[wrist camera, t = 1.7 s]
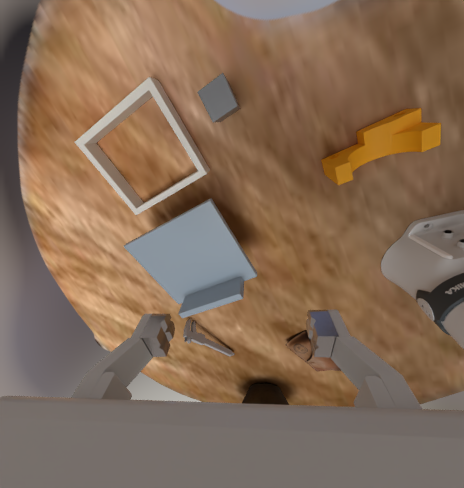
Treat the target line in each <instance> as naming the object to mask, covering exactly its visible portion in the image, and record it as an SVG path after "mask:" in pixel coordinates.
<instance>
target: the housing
mask: <svg viewBox="0 0 464 488" xmlns="http://www.w3.org/2000/svg"><path fill="white" fill-rule="evenodd" d="M152 97H154V99H155V101H156V102H157V104H158V105H159V107H160V109H161V110H162V112H163V114H164V115H165V117H166V119H167V120H168V122H169V124H170V125H171V127H172V129H173V130H174V132H175V134H176V135H177V137H178V138H179V140H180V142H181V143H182V145H183V147H184V148H185V150H186V152H187V153H188V155H189V157H190V158H191V160H192V162H193V163H194V165H195V166H196V168H197V171H196V172H194V173H192V174H191V175H189V176H187V177H186V178H184V179H182V180H181V181H179V182H177V183H176V184H174V185H172V186H171V187H169V188H167V189H166V190H164V191H163V192H161V193H159V194H158V195H156V196H154V197H153V198H151V199H149V200H148V201H146V202H143V201H142V200H141V199H140V197H139V196H138V195H137V194H136V192H135V191H134V190H133V189H132V187H131V186H130V185H129V184H128V182H127V181H126V180H125V179H124V177H123V176H122V175H121V173H120V172H119V171H118V170H117V168H116V167H115V166H114V165H113V163H112V162H111V161H110V160H109V158H108V157H107V156H106V155H105V153H104V152H103V151H102V150H101V148H100V147H99V146H98V145H97V142H98V141H99V140H101V139H102V138H103V137H104V136H105V135H107V134H108V133H109V132H110V131H112V130H113V129H114V128H115V127H116V126H118V125H119V124H120V123H121V122H122V121H124V120H125V119H126V118H127V117H129V116H130V115H131V114H132V113H133V112H135V111H136V110H137V109H138V108H139V107H141V106H142V105H143V104H144V103H146V102H147V101H148V100H149V99H150V98H152ZM75 143H76V144H77V146H78V147H79V148H80V149H81V150H82V151H83V153H84V154H85V155H86V156H87V157H88V159H89V160H90V161H91V162H92V163H93V165H94V166H95V167H96V168H97V169H98V170H99V172H100V173H101V174H102V175H103V176H104V178H105V179H106V180H107V181H108V182H109V184H110V185H111V186H112V187H113V188H114V190H115V191H116V192H117V193H118V194H119V195H120V197H121V198H122V199H123V200H124V201H125V203H126V204H127V205H128V206H129V207H130V209H131V210H132V211H133V212H134V213H135V214H136V215H138V214H139V213H141V212H143V211H144V210H146V209H148V208H150V207H151V206H153V205H155V204H156V203H158V202H160V201H161V200H163V199H165V198H167V197H168V196H170V195H172V194H173V193H175V192H177V191H179V190H180V189H182V188H184V187H185V186H187V185H189V184H190V183H192V182H194V181H196V180H197V179H199V178H201V177H202V176H204V175H206V174H207V173H208V172H209V171H210V169H209V167H208V165H207V164H206V162H205V160H204V158H203V157H202V155H201V153H200V152H199V150H198V148H197V146H196V145H195V143H194V141H193V139H192V138H191V136H190V134H189V132H188V131H187V129H186V127H185V126H184V124H183V122H182V120H181V119H180V117H179V115H178V113H177V112H176V110H175V108H174V106H173V105H172V103H171V101H170V100H169V98H168V96H167V94H166V93H165V91H164V89H163V87H162V86H161V84H160V82H159V81H158V80H156V79H154V78H151V77H149V78H147V79H146V80H145V81H144V82H143V83H142V84H141V85H139V86H138V87H137V88H136V89H135V90H134V91H133V92H131V93H130V94H129V95H128V96H127V97H126V98H125V99H123V100H122V101H121V102H120V103H119V104H118V105H117V106H115V107H114V108H113V109H112V110H111V111H110V112H109V113H107V114H106V115H105V116H104V117H103V118H102V119H101V120H99V121H98V122H97V123H96V124H95V125H94V126H93V127H91V128H90V129H89V130H88V131H87V132H86V133H85V134H83V135H82V136H81V137H80V138H79V139H78V140H76V141H75Z"/></svg>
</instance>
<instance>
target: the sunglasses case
mask: <svg viewBox="0 0 464 488" xmlns="http://www.w3.org/2000/svg"><path fill="white" fill-rule="evenodd" d="M286 346H287V347H288V348H289V349H290V350H291V351H293V352H294V353H295V354H296V355H298V356H299V357H300V358H301V359H303V360H304V361H305V362H306V363H308V364H309V365H310V366H311V367H312V368H314V369H315V370H316V371H326V370H335V371H341V369H340V368H339V367H338V366H337V365H336V364H335V363H334V361H333V360H332V359H331V358H328V357H314V355H313V351H312V348H311V339H310V338H309V337H308V333H307V332H306V331H304V332H302V333H300V334H298V335H297V336H295V337H294V338H293V339H291V340H290V341H289V342H288V343H287V344H286Z"/></svg>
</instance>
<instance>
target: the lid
mask: <svg viewBox="0 0 464 488" xmlns="http://www.w3.org/2000/svg"><path fill="white" fill-rule="evenodd" d="M124 247H125V248H126V250H127V251H128V252H129V253H130V254H131V255H132V256H133V257H134V258H135V259H136V260H137V261H138V262H139V263H140V264H141V265H142V266H143V267H144V268H145V269H146V271H147V272H148V273H149V274H150V275H151V276H152V277H153V278H154V279H155V280H156V281H157V282H158V283H159V284H160V285H161V286H162V287H163V288H164V289H165V290H166V292H167V293H168V294H169V295H170V296H171V297H172V298H173V299H174V300H175V301H176V302H177V303H178V304H180V303H182V306H181V308H180V311H179V315H180V316H181V317H182V318H184V317H187V316H191V315H194V314H197V313H200V312H203V311H206V310H209V309H212V308H215V307H219V306H222V305H225V304H228V303H231V302H234V301H237V300H240V299H243V292H244V281H245V280H248V279H251V278H254V277H257V272H256V270H255V268H254V267H253V265H252V264H251V262H250V260H249V259H248V257H247V255H246V254H245V252H244V251H243V249H242V247H241V246H240V244H239V242H238V241H237V239H236V238H235V236H234V234H233V233H232V231H231V229H230V228H229V226H228V225H227V223H226V221H225V220H224V218H223V216H222V215H221V213H220V212H219V210H218V208H217V207H216V205H215V203H214V202H213V200H212V199H209V200H207V201H205V202H203V203H201V204H199V205H197V206H196V207H194V208H192V209H190V210H188V211H186V212H184V213H183V214H181V215H179V216H177V217H175V218H173V219H171V220H169V221H168V222H166V223H164V224H162V225H160V226H158V227H156V228H154V229H153V230H151V231H149V232H147V233H145V234H143V235H141V236H140V237H138V238H136V239H134V240H132V241H130V242H128V243H127V244H126V245H125V246H124Z"/></svg>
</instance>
